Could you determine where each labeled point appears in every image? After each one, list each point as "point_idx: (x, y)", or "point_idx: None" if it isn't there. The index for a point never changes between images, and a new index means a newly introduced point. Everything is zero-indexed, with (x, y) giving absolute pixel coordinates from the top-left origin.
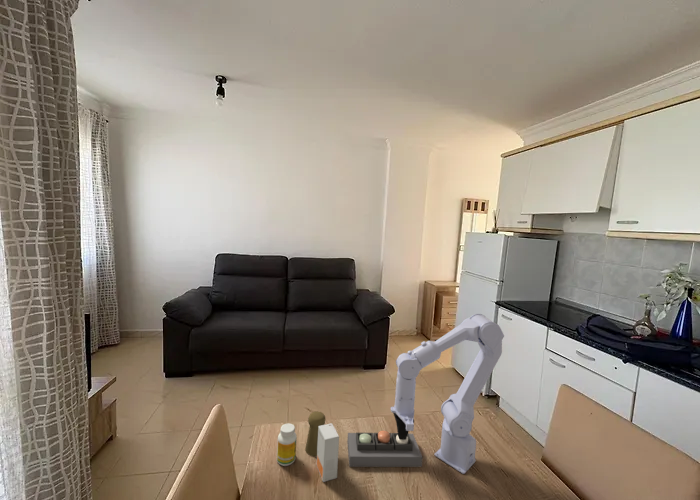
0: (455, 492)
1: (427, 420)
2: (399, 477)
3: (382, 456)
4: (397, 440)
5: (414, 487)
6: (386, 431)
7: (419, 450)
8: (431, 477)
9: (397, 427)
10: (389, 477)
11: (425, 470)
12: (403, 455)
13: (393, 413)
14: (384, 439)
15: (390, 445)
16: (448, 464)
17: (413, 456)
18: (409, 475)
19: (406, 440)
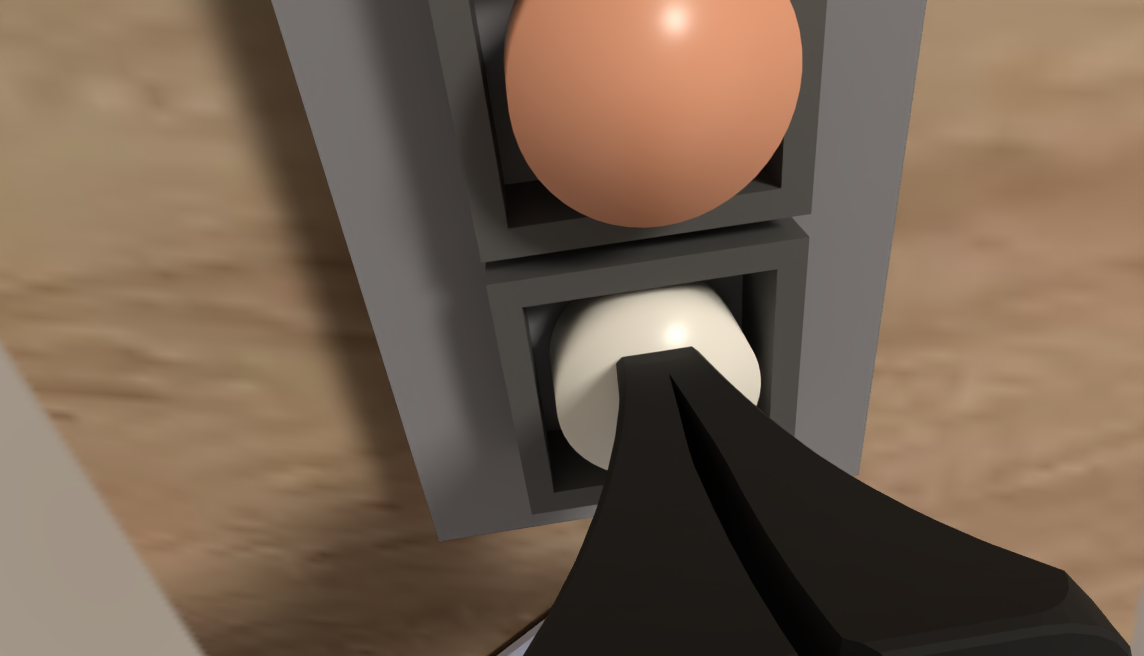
0: (218, 646)
1: (1122, 544)
2: (200, 222)
3: (279, 4)
4: (603, 323)
5: (116, 369)
6: (764, 153)
7: (546, 521)
8: (326, 516)
9: (720, 452)
10: (143, 89)
11: (405, 479)
12: (405, 348)
13: (1008, 632)
14: (507, 90)
15: (470, 193)
16: (517, 640)
17: (423, 458)
18: (278, 333)
19: (603, 454)
